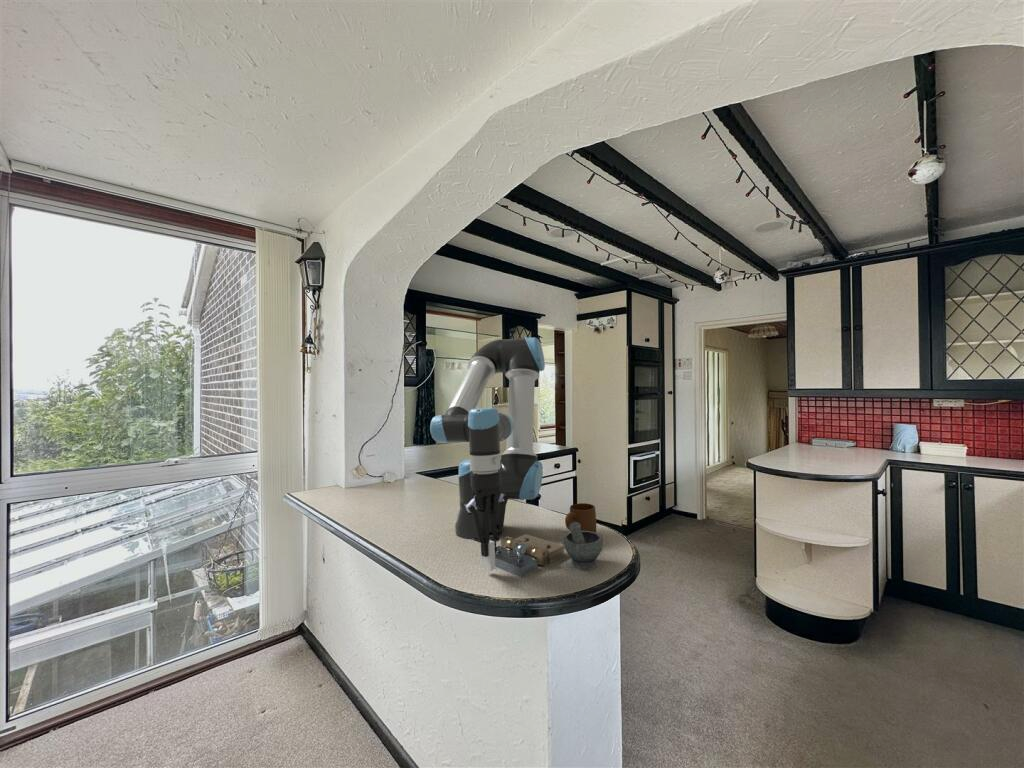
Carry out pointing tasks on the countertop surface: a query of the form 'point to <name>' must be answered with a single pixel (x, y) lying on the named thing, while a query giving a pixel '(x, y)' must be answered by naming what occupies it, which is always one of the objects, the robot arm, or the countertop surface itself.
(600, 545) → the mortar and pestle
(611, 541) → the countertop surface
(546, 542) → the fixed leaf
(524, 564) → the loose leaf
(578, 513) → the mug
